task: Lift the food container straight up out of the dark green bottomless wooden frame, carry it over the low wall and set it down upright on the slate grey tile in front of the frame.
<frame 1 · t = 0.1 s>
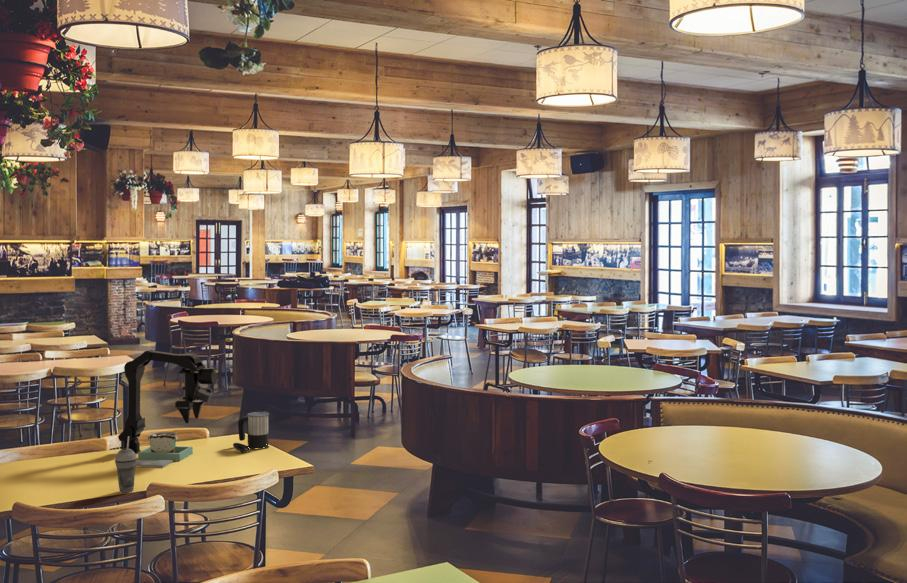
hand: (192, 420, 340), 15 cm above the table, tool pointing down, fingers open, 9 cm apart
food container: (165, 457, 338), resting in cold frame
milk frother: (251, 449, 351), on the table
beverage cup: (126, 492, 290), on the table
slate tile: (151, 464, 326), on the table
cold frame: (165, 456, 338), on the table
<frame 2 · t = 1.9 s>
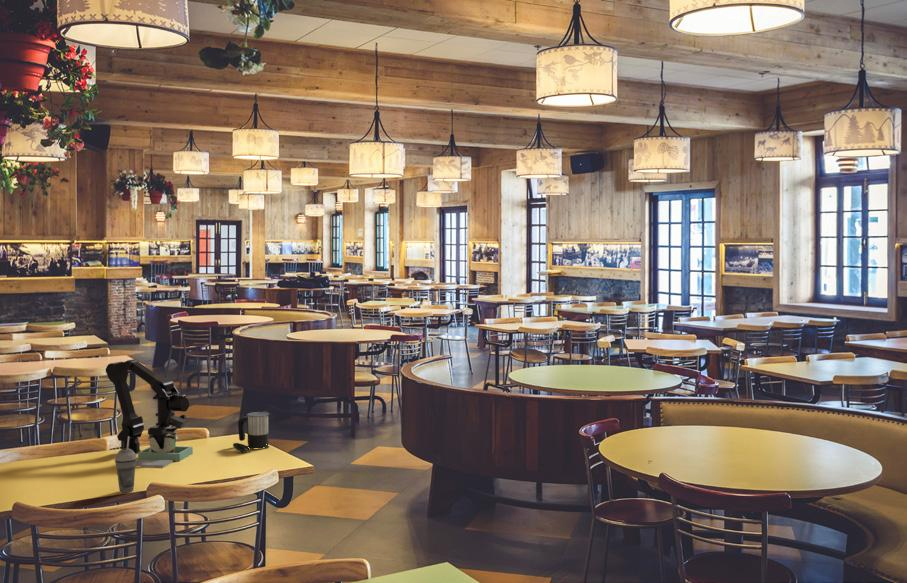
hand: (165, 447, 338), 4 cm above the table, tool pointing down, fingers closed on food container, 6 cm apart
food container: (165, 457, 338), resting in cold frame, touching gripper
everything else where it was.
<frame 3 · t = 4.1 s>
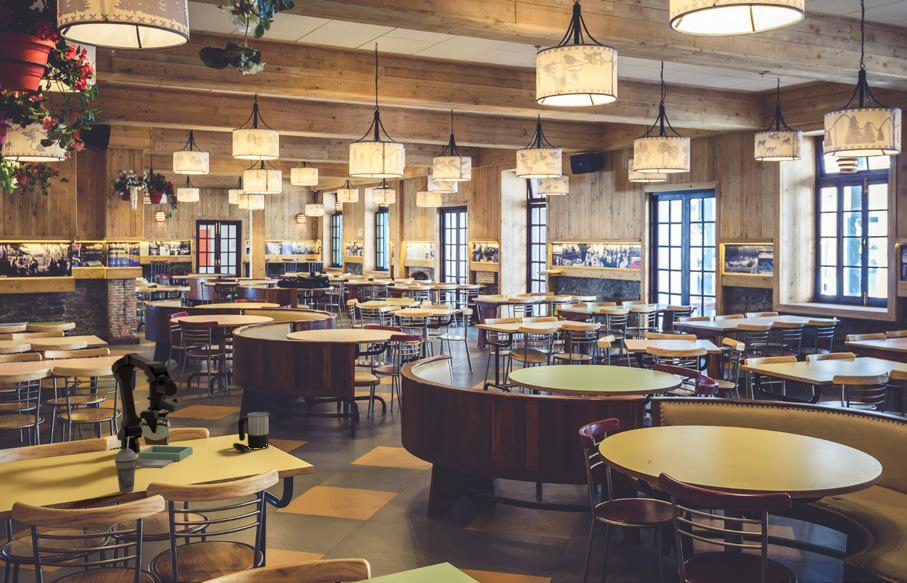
hand: (157, 431, 331), 12 cm above the table, tool pointing down, fingers closed on food container, 6 cm apart
food container: (159, 442, 333), point 7 cm above the table, touching gripper
everything else where it was.
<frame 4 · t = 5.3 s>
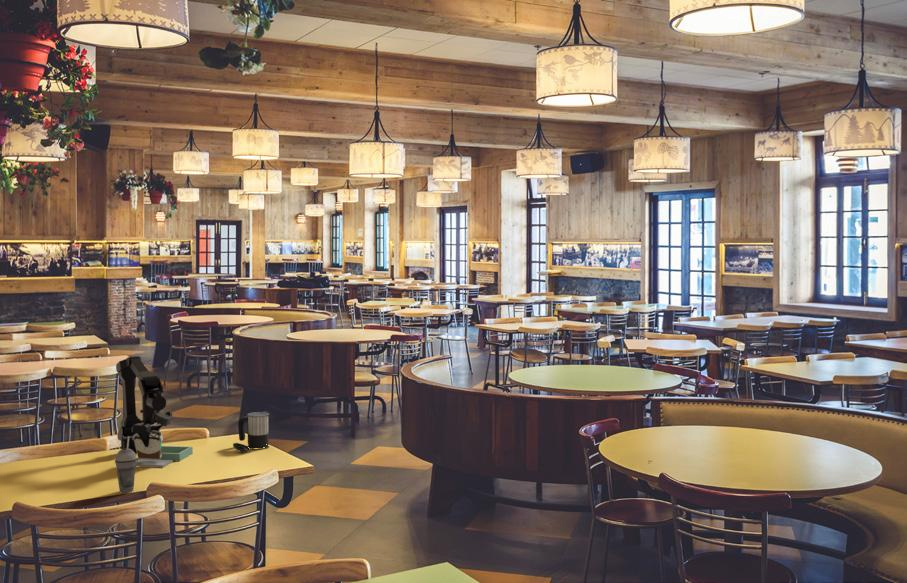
hand: (150, 445, 326), 8 cm above the table, tool pointing down, fingers closed on food container, 6 cm apart
food container: (152, 456, 328), point 3 cm above the table, touching gripper
everything else where it was.
when the fingers open (6 cm above the table, at t = 6.1 s): food container stays where it is, resting on slate tile.
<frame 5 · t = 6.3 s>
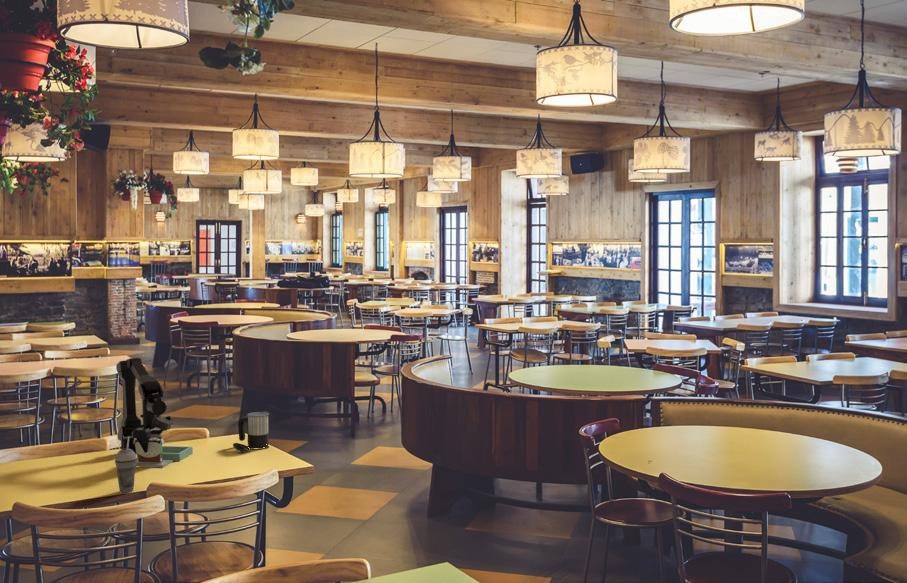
hand: (150, 449, 326), 6 cm above the table, tool pointing down, fingers open, 8 cm apart
food container: (153, 460, 328), point 1 cm above the table, touching gripper, slate tile
everything else where it was.
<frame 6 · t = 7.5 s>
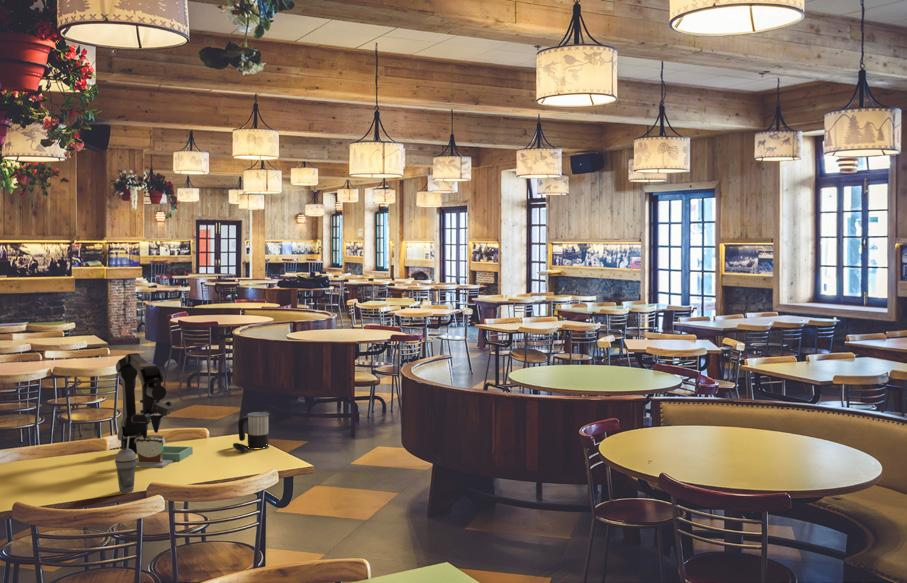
hand: (150, 435, 326), 12 cm above the table, tool pointing down, fingers open, 9 cm apart
food container: (153, 461, 328), point 1 cm above the table, touching slate tile
everything else where it was.
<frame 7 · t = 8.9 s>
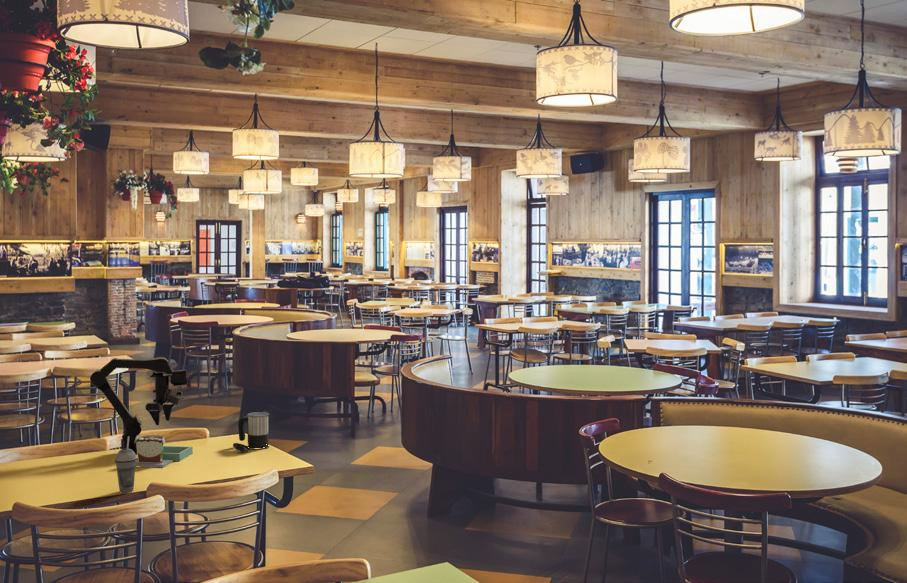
hand: (162, 422, 348), 12 cm above the table, tool pointing down, fingers open, 9 cm apart
nothing on the table moved.
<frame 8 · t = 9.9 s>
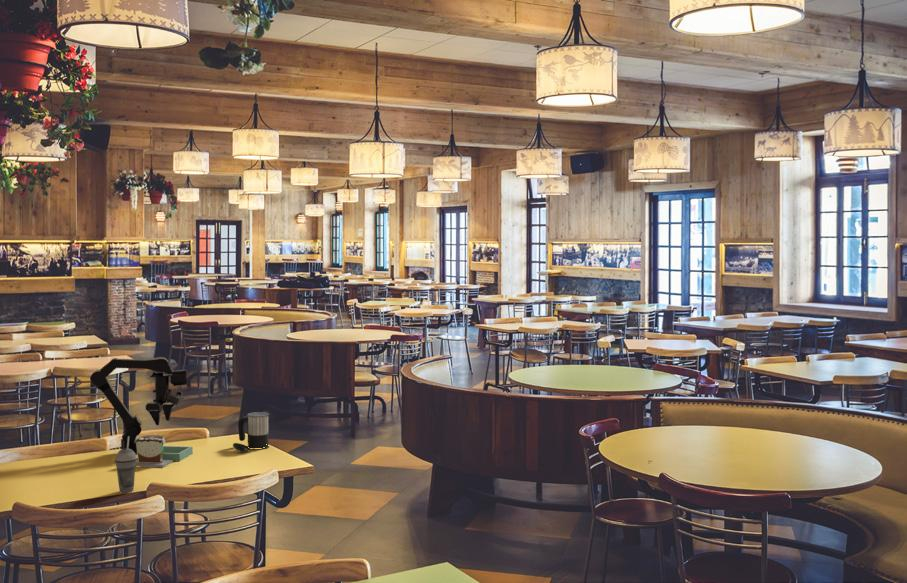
hand: (162, 422, 348), 12 cm above the table, tool pointing down, fingers open, 9 cm apart
nothing on the table moved.
at the end: food container inside the target area on the slate tile (1.9 cm from its centre), point 0.8 cm above the slate tile's base; food container tilted 0°; the gripper is holding nothing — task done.
